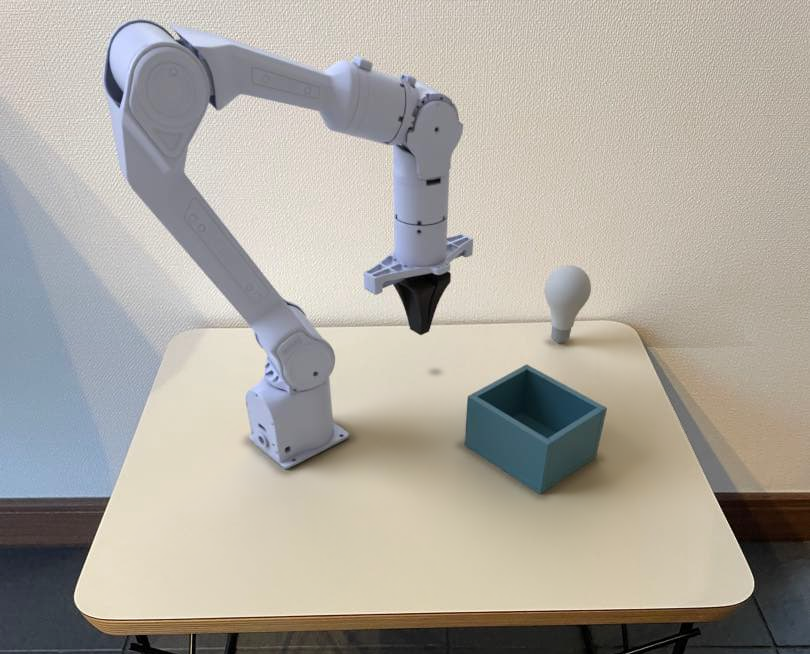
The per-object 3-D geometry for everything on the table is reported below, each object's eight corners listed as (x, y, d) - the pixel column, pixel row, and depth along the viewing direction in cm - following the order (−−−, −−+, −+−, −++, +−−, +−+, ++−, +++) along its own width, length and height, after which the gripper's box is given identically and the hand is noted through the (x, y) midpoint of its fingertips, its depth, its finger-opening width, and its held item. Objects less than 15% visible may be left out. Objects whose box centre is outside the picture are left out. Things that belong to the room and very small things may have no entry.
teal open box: (548, 444, 80) (607, 407, 85) (467, 396, 87) (526, 364, 91) (539, 494, 85) (596, 456, 90) (464, 445, 92) (520, 412, 96)
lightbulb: (531, 346, 107) (541, 272, 100) (546, 327, 111) (557, 253, 103) (572, 357, 105) (586, 282, 98) (586, 337, 109) (600, 263, 101)
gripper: (393, 246, 75) (394, 366, 85) (495, 207, 82) (486, 322, 92) (348, 224, 79) (355, 341, 89) (450, 188, 86) (446, 300, 95)
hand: (419, 330), depth 90 cm, fingers closed
